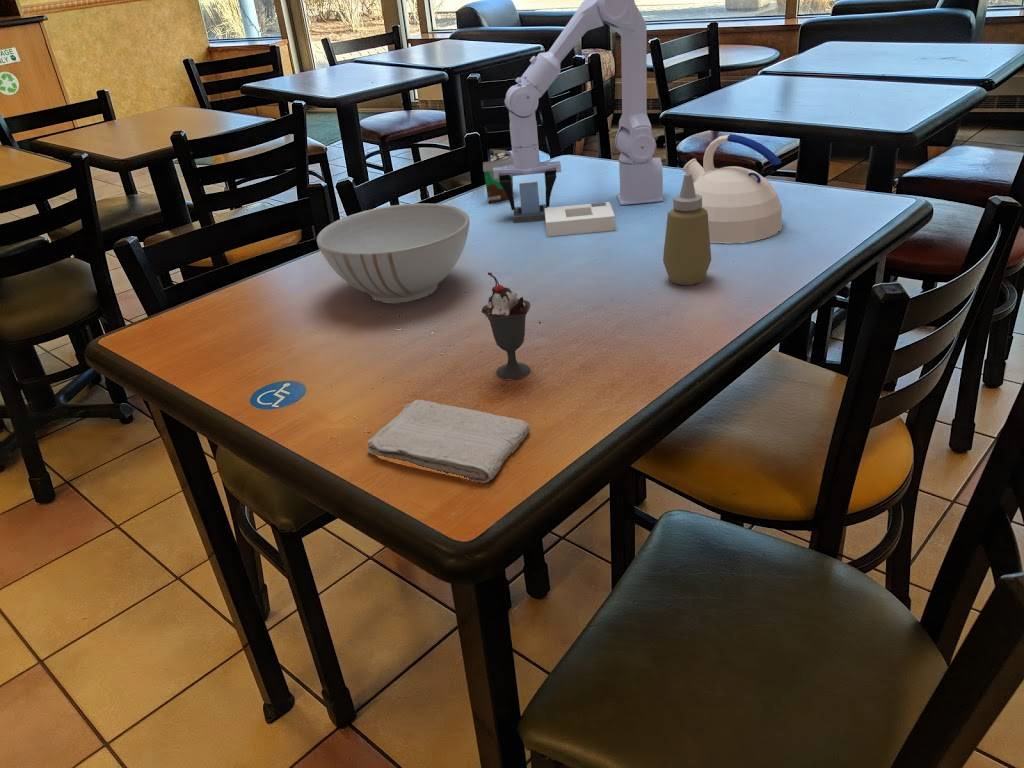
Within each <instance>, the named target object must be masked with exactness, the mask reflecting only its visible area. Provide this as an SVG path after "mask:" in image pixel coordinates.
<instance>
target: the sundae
mask: <svg viewBox="0 0 1024 768" xmlns="http://www.w3.org/2000/svg"><path fill="white" fill-rule="evenodd" d="M487 275H488V276H490V277H491V278H492V279H493V280H494V281H495V282H494V283H495V286H493V287H492V288H491V292H492V294H491V295H490V296H489V297H488V300H487V304H486V305H484V306H482V308H481V313H482V314H483V315H484V316H485V317H487V319H488V321H489V323H490V327H491V331H492V335H493V339H494V341H495V343H496V345H497V347H499V348H500V349H501V350H502V351H505V352H506V353H507V354H506V355H507V363H505V364H502V365H501V366H499V367H498V368H497V370H496V371H495V374H497V375H496V376H497V377H498V378H499V377H500V378H499V379H501V378H503V379H502V380H505V379H517V380H520V379H519V378H521V377H523V378H525V377H527V376H529V374H530V373H531V372H532V371H531V367H530V366H529V365H528V364H526V363H524V362H518V361H517V357H516V351H517V350H518V349H520V347H522V345H523V344H524V342H525V341H524V340H525V336H526V318H527V314H528V312H529V311H530V308H531V303H530V301H528V300H524V297H523V296H521V297H518V294H517V293H516V292H515V291H514V290H513V289H511V288H509V287H504V285H501V284H499V281H498V279H497V277H496V276H495V275H493V272H487ZM526 375H527V376H526ZM524 376H525V377H524ZM521 379H522V378H521Z"/></svg>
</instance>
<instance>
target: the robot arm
mask: <svg viewBox="0 0 1024 768" xmlns="http://www.w3.org/2000/svg"><path fill="white" fill-rule="evenodd" d="M604 24H606V25H608V26H609V27H610V28H612V29H613V30H614V31H615V32H616V33H617V34H619V36H620V52H621V53H620V54H621V55H620V57H621V58H620V59H621V62H620V63H621V111H622V112H621V113H622V114H621V116H620V118H619V121H618V130H617V132H616V135H615V138H614V139H615V140H614V143H615V146H616V149H617V150H618V151H619V153H620V155H619V157H618V164H619V165H618V166H619V168H618V170H619V171H618V172H619V173H618V175H619V193H616V197H617V199H618V202H619V204H620V206H626V205H636V204H637V205H638V204H646V203H659V202H663V201H664V192H663V191H664V190H663V187H664V186H663V185H664V183H663V182H664V179H663V178H664V177H663V172H664V171H663V163H662V159H661V157H653V155H654V153H655V151H656V147H657V145H656V139H655V138H654V136H653V132H652V131H653V130H652V124H651V122H650V119H649V117H648V116H649V115H648V114H647V111H648V110H647V109H648V108H647V106H648V105H647V104H648V103H647V100H648V99H647V96H648V95H647V92H648V90H647V88H648V87H647V85H648V84H647V83H648V82H647V79H648V78H647V77H648V76H647V68H648V67H647V64H648V63H647V61H648V59H647V55H648V54H647V53H648V52H647V51H648V50H647V30H648V28H647V22H646V20H645V18H644V17H643V15H642V13H641V11H640V10H639V8H638V6H637V5H636V1H635V0H583V1H582V2H581V4H580V5H579V7H577V10H576V11H575V13H574V14H573V15H572V17H571V18H570V20H569V21H568V23H567V24H566V25H565V27H564V29H563V30H562V31H561V33H560V34H559V36H558V37H557V38H556V39H555V41H554V42H553V44H552V46H551V47H550V48H549V50H548V51H545V52H539V53H538V54H537V56H535V55H533V56H532V57H531V58H530V59H529V62H530V65H529V66H528V67H527V69H526V70H525V71H524V72H523V74H522V75H521V76H519V77H518V76H517V77H516V79H515V82H516V83H517V84H515V85H512V86H510V87H509V88H508V90H507V91H506V93H505V99H503V100H504V101H503V102H504V105H505V106H506V108H507V110H508V117H509V134H510V144H511V153H512V155H513V165H508V166H503V167H496V168H493V172H494V179H497V178H499V180H500V181H499V182H500V184H501V186H502V188H503V189H504V191H505V193H506V195H507V197H508V199H509V200H508V202H509V205H510V209H511V211H514V210H515V207H516V205H515V199H514V192H513V193H512V182H511V176H513V177H515V176H516V177H517V176H518V177H519V176H527V175H537V174H544V183H545V204H546V207H548V208H551V207H550V206H551V205H550V203H551V196H552V195H551V194H552V191H553V187H554V185H555V182H556V180H557V173H562V166H561V165H562V163H561V161H559V160H558V161H540V150H539V146H540V145H539V138H538V135H539V134H538V124H537V120H536V111H537V109H538V107H539V99H540V98H542V97H543V95H544V94H545V93H546V92H547V90H548V89H549V88H550V86H551V85H552V83H553V82H554V81H555V80H556V79H557V78H558V76H559V75H560V73H561V63H562V62H563V60H564V59H565V57H567V55H568V54H569V53H570V52H571V50H573V48H574V47H575V46H576V45H577V43H578V42H579V41H580V40H581V39H582V37H584V35H585V34H586V33H587V32H588V31H591V30H593V29H594V30H595V29H597V28H600V27H604Z"/></svg>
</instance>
